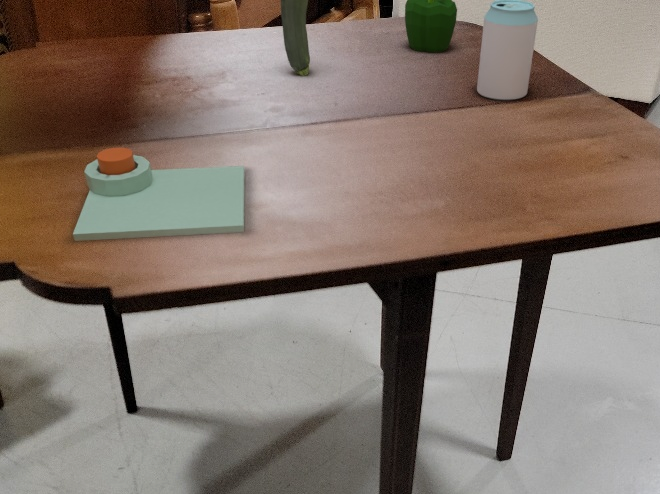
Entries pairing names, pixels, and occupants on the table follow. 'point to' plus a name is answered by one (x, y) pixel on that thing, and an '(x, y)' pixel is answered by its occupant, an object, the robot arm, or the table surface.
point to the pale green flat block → (161, 202)
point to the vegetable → (296, 34)
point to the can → (507, 49)
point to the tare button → (116, 161)
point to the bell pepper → (430, 24)
